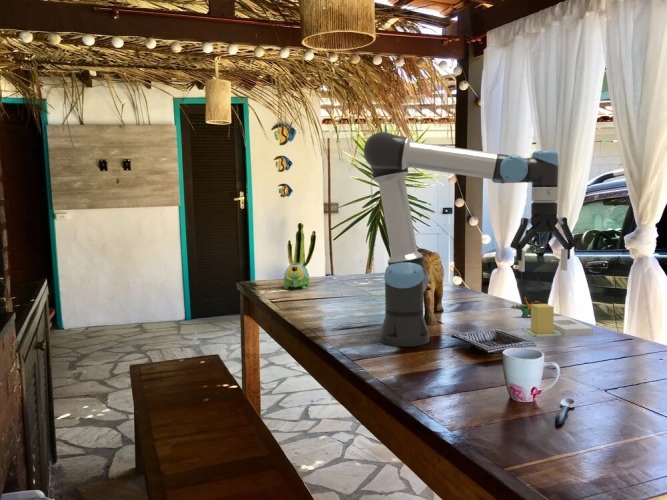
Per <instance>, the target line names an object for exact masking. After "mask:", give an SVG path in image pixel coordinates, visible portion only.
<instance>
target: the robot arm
mask: <svg viewBox="0 0 667 500" xmlns="http://www.w3.org/2000/svg"><path fill="white" fill-rule="evenodd" d="M363 146H364V147H363V155H364V159H365V161H366V163H367V164H368V165H369V166H370V169H371V173H372V180H374V182H376V183H377V184H378V187H379V193H380V199H381V204H382V205H381V206H382V211H383V217H384V220H385V226H386V232H387V233H386V234H387V237H388V243H389V249H390V258H389V259H388V260H387V267H386V268H385V271H384V272H385V273H384V299H385V301H384V303H385V304H384V308H385V311H384V315H385V316H384V319H383V322H382V326H381V327H380V328H381V329H380V332H379V341H380V343H383V344H385V345H389V346H395V347H418V346H423V345H426V344H428V343H429V342H430V332H429V328H428V326H427V323H426V320H425V317H424V293H425V291H426V290H427V288H428V285H429V280H430V279H429V273H428V271H427V269H426V265H425V260H424V256H423V254H422V253H421V252H419V250H418V245H417V241H416V235H415V229H414V224H413V218H412V211H411V207H410V201H409V196H408V190H407V189H408V188H407V185H406V177H407V176H408V174H409V169H408V168H414V169H420V170H426V171H433V172H440V173H447V174H453V175H454V174H455V175H461V176H467V177H475V178H479V179H480V178H481V179H488V180H491V181H492V182H493V183H495V184H507V183H508V184H516V183H517V184H518V183H520V184H521V183H522V184H523V183H528V184H529V183H531V197H530V199H531V201H532V203H531V206H530V208H531V210H530V213H531V214H530V215H531V217H530V218H527V217H521V218H520V223H519V224H520V225H519V226H518V228H517V230H516V233H515V234H514V236H513V238H512V241H511V243H510V245H509V248H512V249H514V250H515V251H516V252H515V254H516V255H515V259H516V261H518V271H519V272H521V273H524V272H525V269H526V267H525V264H526V263H525V261H526V250H525V249H524V248H525V247H526V246H527V245H528V243H529V242H530V241H531V240H532V238H533V237H534V236H535V235H536V234H537V233H551V234H552V235H553V236H554V237H555V239H556V240H557V241H558V243H560V245H561V246H562V248H561V249H560V271H565V272H566V271H568V260H570V258H571V250H573V248H576V247H577V246H578V245H577V243H576V240H575V238H574V236H573V233H572V231H571V229H570V227H569V225H568V218H567V217H565V216H564V217H563V216H561V217H557V215H558V203H557V201H558V193H559V192H558V189H559V185H558V183H559V167H560V165H559V153H558V152H557V151H556V150H537V151H533V152H532V154H531V155H532V156H531V157H525V158H523V156H521V155H517V154H511V155H510V154H509V155H508V154H504V153H503V154H501V153H495V152H490V151H489V152H488V151H481V150H475V149H474V150H473V149H467V148H461V147H455V146H454V147H453V146H445V145H439V144H438V145H437V144H431V143H424V142H417V141H412V140H411V138H410V137H407V136H402V135H401V136H400V135H396V134H392V133H390V132H386V131H379V132H375V133H374V134H372V135H370V136H369V137H368V138H367V140H366V142H365V143H364V145H363ZM557 224H559V226H560V228H561V230H562V233H563V234H562V233H561V232H560V230H559V229H558V228H557V226H556V225H557ZM529 225H531V227H530V228H529V229H528V228H527V227H528V226H529ZM526 229H528V232H526ZM525 232H526V234H525ZM524 234H525V235H524ZM523 235H524V236H523Z"/></svg>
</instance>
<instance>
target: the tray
mask: <svg viewBox="0 0 667 500" xmlns="http://www.w3.org/2000/svg"><path fill="white" fill-rule="evenodd" d="M521 330H522V331H523V332H525V333H527V334H528V335H530V336H532V337H533V338H537V337H538V338H540V337H541V338H542V337H563V336H564V335H563V334H562V333H560V332H558V331H556V330H554V329H553V334H535V333H533V332H531V327H524V328H523V327H522V328H521Z"/></svg>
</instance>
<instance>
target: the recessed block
mask: <svg viewBox="0 0 667 500" xmlns="http://www.w3.org/2000/svg"><path fill="white" fill-rule="evenodd" d="M553 329H554V330H556V331H558V332H560V333H562V334H563V336H564V337H571V336H572V337H574V336H576V337H577V336H593V335H594V327H592V326H589V325H586V324H584V323H582V322H580V321H577V320H576V319H573V318H570V317H568V316H566V315H554V319H553Z"/></svg>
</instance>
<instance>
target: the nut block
mask: <svg viewBox="0 0 667 500" xmlns="http://www.w3.org/2000/svg"><path fill="white" fill-rule="evenodd" d="M530 304H531V316H530V328H531V330H530V332H532V333H533V334H535V335H537V334H554V332H553V319H554V316H555V315H554V314H555V311H554V310H555V309H554V306H552V305H550V304H547V303H541V304H538V303H536V304H535V303H533V304H532V303H530Z"/></svg>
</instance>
